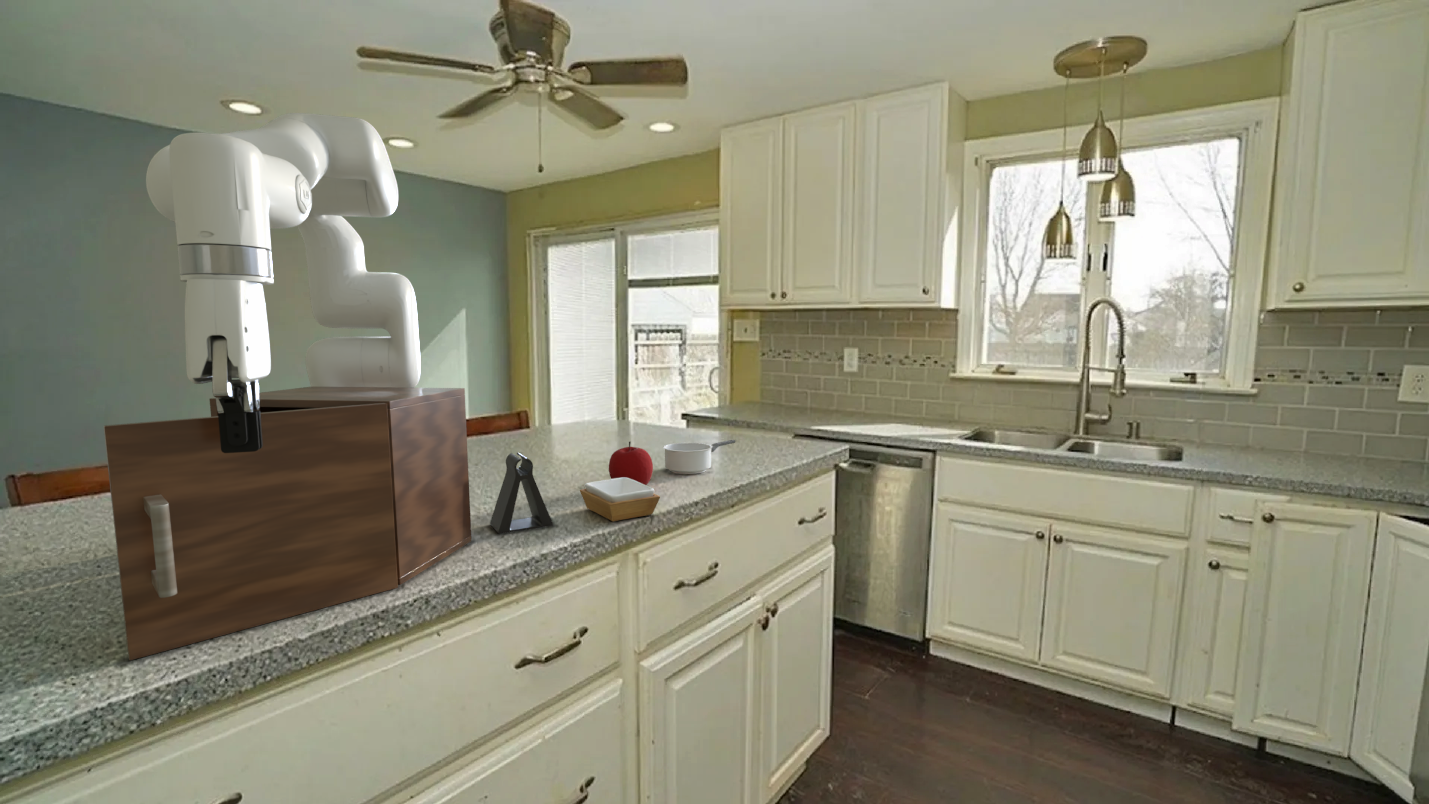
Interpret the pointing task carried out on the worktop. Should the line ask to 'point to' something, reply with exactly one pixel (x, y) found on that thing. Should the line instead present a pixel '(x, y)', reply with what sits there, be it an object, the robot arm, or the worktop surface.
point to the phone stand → (509, 494)
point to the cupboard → (409, 463)
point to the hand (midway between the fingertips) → (242, 450)
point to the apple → (631, 464)
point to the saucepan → (690, 456)
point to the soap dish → (619, 498)
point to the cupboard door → (248, 521)
